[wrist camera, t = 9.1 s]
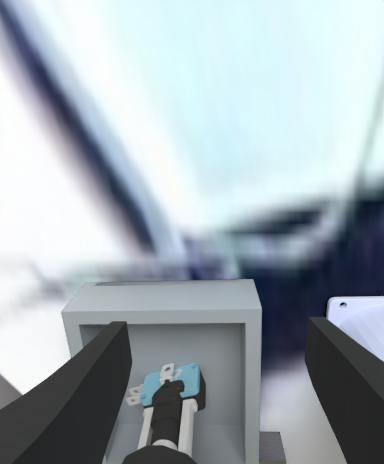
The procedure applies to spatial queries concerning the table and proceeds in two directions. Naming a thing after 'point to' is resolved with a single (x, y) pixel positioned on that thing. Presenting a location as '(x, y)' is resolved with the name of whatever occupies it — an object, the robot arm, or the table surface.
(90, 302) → the bin
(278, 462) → the collar
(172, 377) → the push button
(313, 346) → the robot arm
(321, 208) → the table surface
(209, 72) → the table surface
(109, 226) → the table surface
